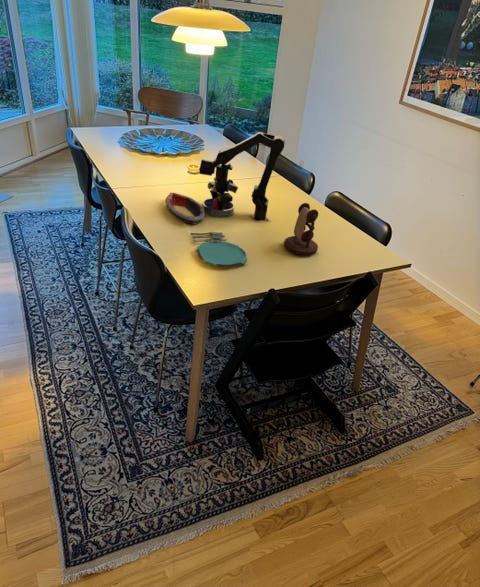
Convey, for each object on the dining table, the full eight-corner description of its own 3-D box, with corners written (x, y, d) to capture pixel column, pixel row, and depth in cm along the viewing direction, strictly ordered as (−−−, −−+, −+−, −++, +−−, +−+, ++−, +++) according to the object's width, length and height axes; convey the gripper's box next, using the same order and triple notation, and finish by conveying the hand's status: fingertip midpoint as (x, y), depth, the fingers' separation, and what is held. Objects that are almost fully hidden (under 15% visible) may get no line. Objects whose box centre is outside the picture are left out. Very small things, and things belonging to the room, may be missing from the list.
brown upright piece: (277, 242, 198) (285, 200, 187) (305, 240, 203) (315, 198, 193) (293, 258, 187) (303, 214, 176) (323, 255, 193) (334, 212, 182)
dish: (179, 228, 197) (180, 218, 194) (158, 201, 219) (158, 191, 216) (211, 226, 203) (212, 215, 200) (188, 199, 225) (188, 190, 223)
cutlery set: (204, 271, 169) (204, 266, 168) (185, 235, 192) (185, 230, 191) (252, 268, 176) (253, 263, 175) (229, 233, 199) (229, 229, 197)
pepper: (224, 212, 216) (226, 199, 212) (214, 213, 214) (215, 199, 210) (221, 208, 220) (222, 194, 216) (210, 208, 218) (212, 195, 214)
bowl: (238, 217, 215) (239, 209, 213) (208, 219, 209) (208, 211, 207) (226, 204, 226) (227, 197, 224) (197, 206, 220) (198, 198, 218)
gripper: (245, 184, 204) (240, 215, 213) (230, 170, 218) (226, 200, 227) (222, 184, 200) (218, 216, 208) (208, 170, 214) (205, 201, 222)
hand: (218, 208), depth 217 cm, fingers closed on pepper, 5 cm apart
